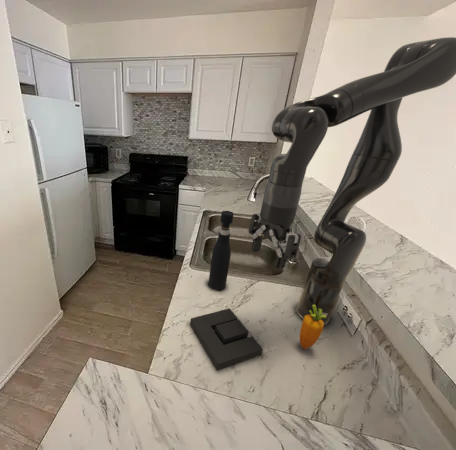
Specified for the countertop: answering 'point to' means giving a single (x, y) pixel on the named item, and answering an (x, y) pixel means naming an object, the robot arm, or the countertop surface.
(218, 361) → the base mat
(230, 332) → the connector pad
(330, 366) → the countertop surface
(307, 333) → the carrot
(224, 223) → the wine bottle
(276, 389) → the countertop surface
